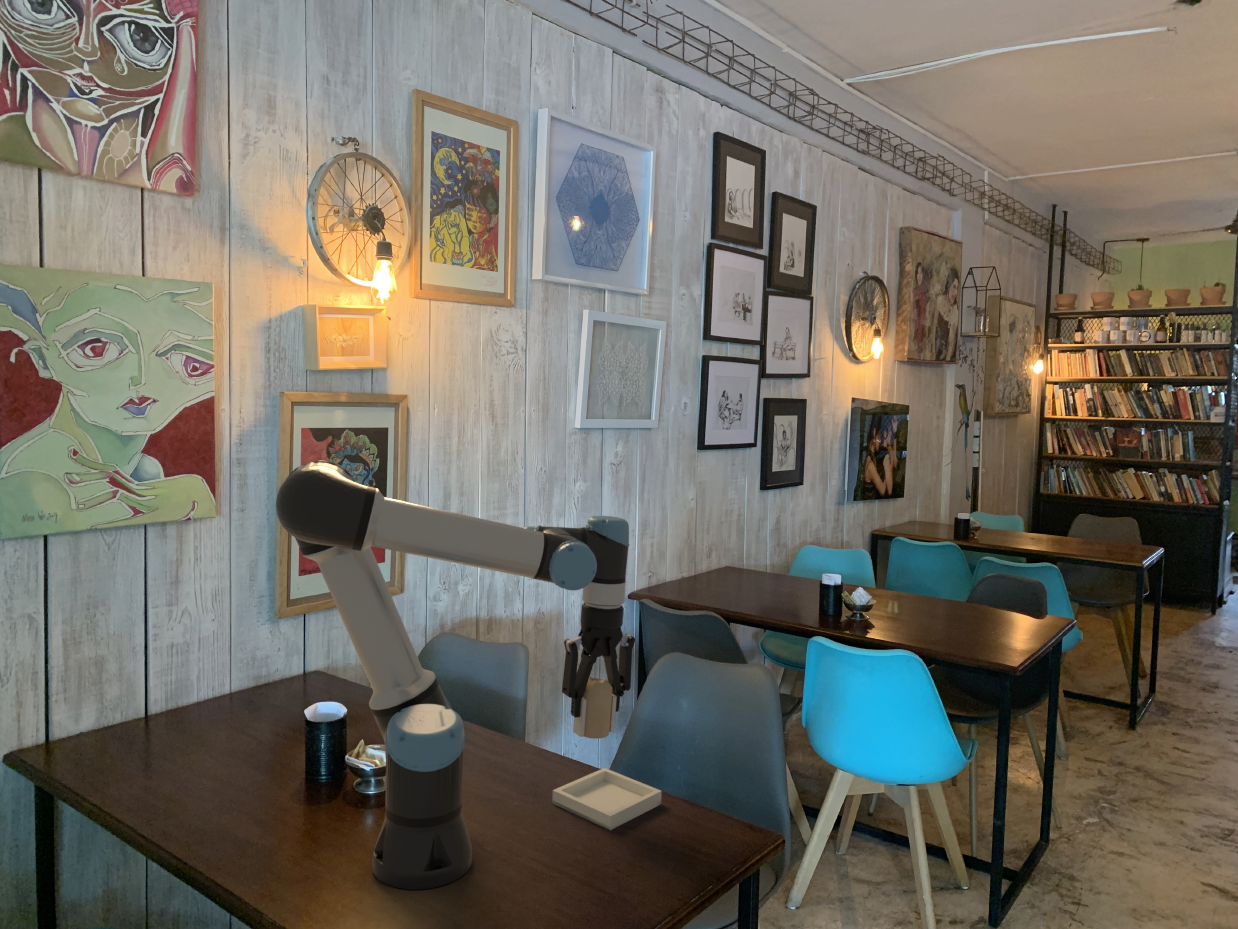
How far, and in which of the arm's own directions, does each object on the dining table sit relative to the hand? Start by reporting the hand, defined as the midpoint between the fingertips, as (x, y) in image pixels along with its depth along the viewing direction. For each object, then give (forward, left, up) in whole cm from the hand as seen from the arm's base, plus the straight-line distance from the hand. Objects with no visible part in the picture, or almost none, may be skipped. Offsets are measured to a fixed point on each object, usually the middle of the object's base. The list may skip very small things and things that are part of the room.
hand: (593, 731), depth 158 cm
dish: (+2, -2, -14) cm, 14 cm away
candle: (0, 0, -1) cm, 1 cm away
